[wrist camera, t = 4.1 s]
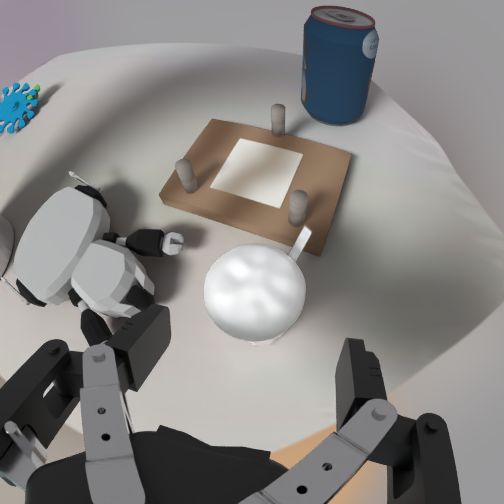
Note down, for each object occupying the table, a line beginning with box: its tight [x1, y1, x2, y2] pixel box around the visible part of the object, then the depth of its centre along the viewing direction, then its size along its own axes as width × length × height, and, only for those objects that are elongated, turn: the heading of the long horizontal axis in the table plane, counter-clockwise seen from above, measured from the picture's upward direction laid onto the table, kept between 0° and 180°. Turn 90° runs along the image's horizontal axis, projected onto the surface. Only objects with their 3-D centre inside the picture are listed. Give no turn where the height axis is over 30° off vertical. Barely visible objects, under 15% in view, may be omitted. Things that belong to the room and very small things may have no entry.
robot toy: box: [1, 171, 184, 347], centre depth 22 cm, size 12×4×15 cm
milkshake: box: [204, 225, 312, 346], centre depth 16 cm, size 5×5×10 cm
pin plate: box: [159, 104, 352, 256], centre depth 24 cm, size 14×11×4 cm
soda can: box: [301, 6, 379, 126], centre depth 24 cm, size 7×7×12 cm
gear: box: [0, 83, 40, 133], centre depth 35 cm, size 11×6×10 cm
